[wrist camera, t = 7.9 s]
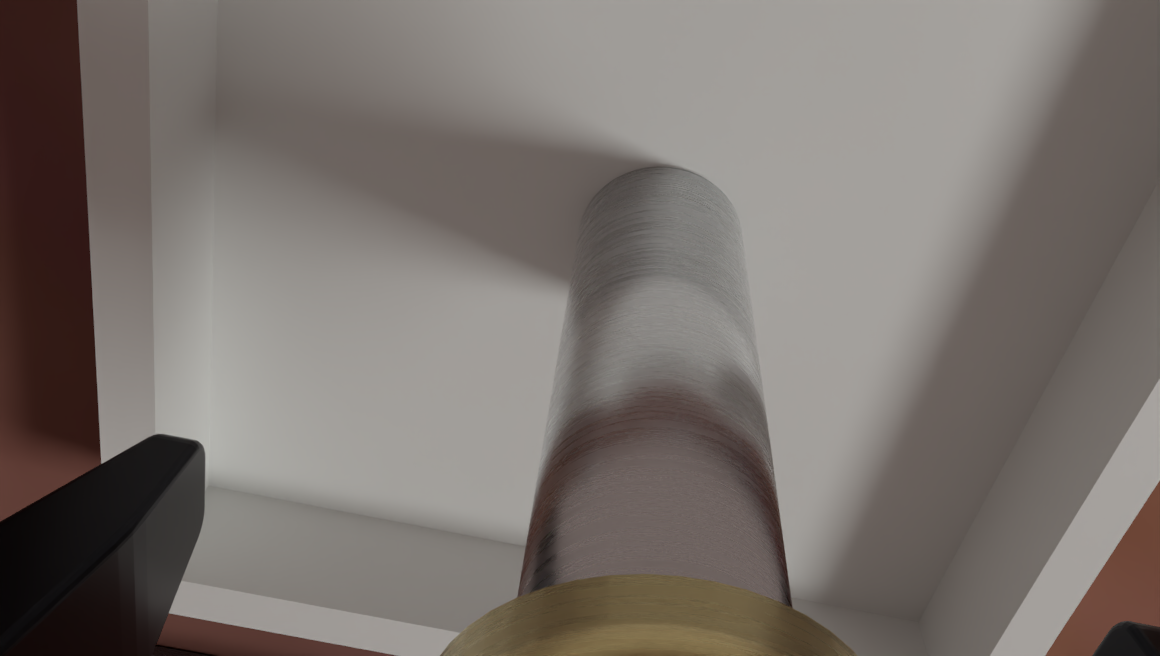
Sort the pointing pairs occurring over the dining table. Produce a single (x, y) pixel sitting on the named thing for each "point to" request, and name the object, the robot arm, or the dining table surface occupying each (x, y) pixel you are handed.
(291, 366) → the tray
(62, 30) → the dining table surface
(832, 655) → the pin
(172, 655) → the block
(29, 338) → the dining table surface
